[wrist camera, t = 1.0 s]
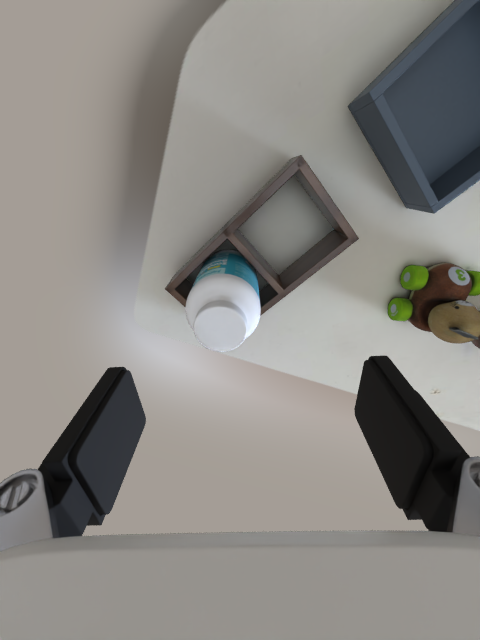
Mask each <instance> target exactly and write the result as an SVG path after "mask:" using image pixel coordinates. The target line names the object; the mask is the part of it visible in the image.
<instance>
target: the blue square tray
mask: <svg viewBox="0 0 480 640" xmlns="http://www.w3.org/2000/svg"><path fill="white" fill-rule="evenodd" d="M348 108H349V109H350V111H351V113H352V115H353V116H354V118H355V120H356V122H357V123H358V125H359V127H360V129H361V130H362V132H363V134H364V135H365V137H366V139H367V141H368V142H369V144H370V146H371V148H372V149H373V151H374V153H375V155H376V156H377V158H378V160H379V161H380V163H381V165H382V167H383V168H384V170H385V172H386V174H387V175H388V177H389V179H390V181H391V182H392V184H393V186H394V187H395V189H396V191H397V193H398V194H399V196H400V198H401V200H402V201H403V203H404V205H405V207H406V208H409V209H414V210H419V211H424V212H429V213H436V212H437V211H438V210H440V209H441V208H442V207H444V206H445V205H446V204H448V203H449V202H451V201H452V200H453V199H455V198H456V197H457V196H459V195H460V194H461V193H463V192H464V191H465V190H467V189H468V188H470V187H471V186H472V185H474V184H475V183H476V182H478V181H479V180H480V0H455V1H454V2H453V3H452V4H451V5H450V6H449V7H448V8H447V9H446V10H445V11H443V12H442V13H441V14H440V15H439V16H438V17H437V18H436V19H435V20H434V21H433V22H432V23H431V24H430V25H429V26H428V27H427V28H426V29H425V30H424V31H423V32H422V33H421V34H420V35H419V36H418V37H417V38H416V39H415V40H414V41H413V42H412V43H411V44H410V45H409V46H408V47H407V48H406V49H405V50H404V51H403V52H402V53H401V54H400V55H399V56H398V57H397V58H396V59H395V60H394V61H393V62H392V63H391V64H390V65H389V66H388V67H387V68H386V69H385V70H384V71H383V72H382V73H381V74H380V75H379V76H378V77H377V78H376V79H375V80H374V81H373V82H372V83H371V84H370V85H369V86H368V87H367V88H365V89H364V90H363V91H362V92H361V93H360V94H359V95H358V96H357V97H356V98H355V99H354V100H353V101H352V102H351V103H350V104H349V105H348Z"/></svg>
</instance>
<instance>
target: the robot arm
mask: <svg viewBox="0 0 480 640" xmlns="http://www.w3.org/2000/svg"><path fill="white" fill-rule="evenodd" d="M355 416H356V419H357V421H358V423H359V426H360V428H361V430H362V432H363V434H364V437H365V439H366V441H367V443H368V445H369V447H370V449H371V452H372V454H373V456H374V458H375V460H376V463H377V465H378V467H379V469H380V471H381V473H382V476H383V478H384V480H385V482H386V484H387V486H388V489H389V491H390V493H391V495H392V497H393V499H394V502H395V504H396V505H397V507H398V508H400V509H403V511H404V513H405V515H406V517H407V519H408V520H417V519H422V520H423V522H424V524H425V526H426V528H427V529H429V531H373V530H371V531H288V532H287V531H284V532H223V533H177V534H176V533H173V534H129V535H128V534H127V535H102V536H101V535H100V536H82V534H83V532H84V530H85V528H86V526H87V525H102V522H103V520H104V517H105V515H106V514H109V513H110V511H111V510H112V507H113V505H114V502H115V500H116V497H117V495H118V492H119V490H120V487H121V484H122V482H123V479H124V477H125V475H126V472H127V469H128V467H129V464H130V462H131V459H132V457H133V454H134V452H135V449H136V447H137V444H138V442H139V439H140V436H141V434H142V431H143V429H144V426H145V422H146V418H145V414H144V411H143V408H142V405H141V402H140V399H139V396H138V393H137V390H136V387H135V384H134V381H133V378H132V375H131V373H130V371H129V370H126V368H124V367H113V368H108V369H107V370H106V372H105V373H104V375H103V376H102V377H101V379H100V380H99V382H98V383H97V385H96V386H95V388H94V389H93V390H92V392H91V393H90V395H89V396H88V397H87V399H86V400H85V402H84V403H83V405H82V406H81V407H80V409H79V410H78V412H77V413H76V415H75V416H74V417H73V419H72V420H71V422H70V423H69V425H68V426H67V427H66V429H65V430H64V432H63V433H62V434H61V436H60V437H59V439H58V440H57V442H56V443H55V444H54V446H53V447H52V449H51V450H50V452H49V453H48V454H47V456H46V457H45V459H44V460H43V462H42V464H41V465H40V467H39V468H38V470H37V469H26V470H22V471H19V472H17V473H15V474H13V475H11V476H10V477H8V478H6V479H5V480H3V481H2V482H1V483H0V640H480V457H478V456H477V457H469V455H468V454H467V453H466V452H465V450H464V449H463V448H462V447H461V445H460V444H459V443H458V442H457V440H456V439H455V438H454V437H453V435H452V434H451V433H450V432H449V430H448V429H447V428H446V427H445V425H444V424H443V423H442V422H441V420H440V419H439V418H438V417H437V415H436V414H435V413H434V412H433V410H432V409H431V408H430V407H429V405H428V404H427V403H426V402H425V400H424V399H423V398H422V397H421V395H420V394H419V393H418V392H417V391H415V390H414V389H413V388H412V386H411V385H410V384H409V383H408V381H407V380H406V379H405V378H404V376H403V375H402V374H401V372H400V371H399V370H398V369H397V367H396V366H395V365H394V364H393V362H392V361H391V360H390V359H389V358H388V357H387V356H371V357H369V359H368V360H366V361H365V362H364V366H363V370H362V375H361V380H360V385H359V390H358V395H357V400H356V405H355Z"/></svg>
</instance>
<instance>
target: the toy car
mask: <svg viewBox="0 0 480 640" xmlns="http://www.w3.org/2000/svg"><path fill="white" fill-rule="evenodd" d="M400 282H401V285H402V287H403V288H404V289H408V290H412V292H411V294H410V297H409V300H408V299H406V298H394V299H393V300H392V301H391V302H390V303H389V306H388V315H389V317H390V318H391V319H392V320H396V321H406V320H409V321H410V322H411V323H412V324H413V325H414V326H415V327H417V328H419V329H421V330H424V331H428V332H433V334H434V335H435V336H437V337H438V338H440V339H441V340H443V341H446V342H450V343H465V342H469V341H472V340H474V339H475V340H477V339H478V337H479V336H480V312H479V311H478V310H477V309H476V308H475V307H474V305H472V304H471V303H469V302H467V301H465V300H466V299H467V297H468V295H470V296H476V295H479V294H480V272H477V271H465V270H464V269H462V268H461V267H458V266H456V265H454V264H451V263H440V264H436V265H433V266H431V267H429V268H428V269H426V268H425V267H423V266H416V265H410V266H408V267H406V268H405V269H404V270H403V272H402V274H401V279H400Z"/></svg>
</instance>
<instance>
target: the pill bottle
mask: <svg viewBox="0 0 480 640" xmlns="http://www.w3.org/2000/svg"><path fill="white" fill-rule="evenodd" d="M260 314H261V307H260V297H259V287H258V277H257V272H256V269H255V268H254V267H253V266H252V265H251V264H250V262H249V261H248V260H247V259H246V258H245V257H244V256H243V255H242V254H241V253H240V252H237V251H233V250H223V251H219V252H216V253H214V254H212V255H211V256H210V257H208V259H207V260H206V261H205V262H204V264H203V266H202V267H201V270H200V272H199V274H198V276H197V278H196V280H195V282H194V285H193V287H192V289H191V291H190V293H189V295H188V298H187V301H186V317H187V320H188V323H189V325H190V326H191V328H192V329H193V331H194V334H195V337H196V338H197V340H198V341H199V342H200V344H202V345H203V346H204V347H206V348H207V349H210V350H212V351H217V352H226V351H230V350H233V349H235V348H237V347H238V346H240V345H241V344H242V342H243V341H244V339H246V338H247V337H248V336H250V335H251V334H252V332H253V331H254V330H255V328H256V327H257V325H258V323H259V320H260Z"/></svg>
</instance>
